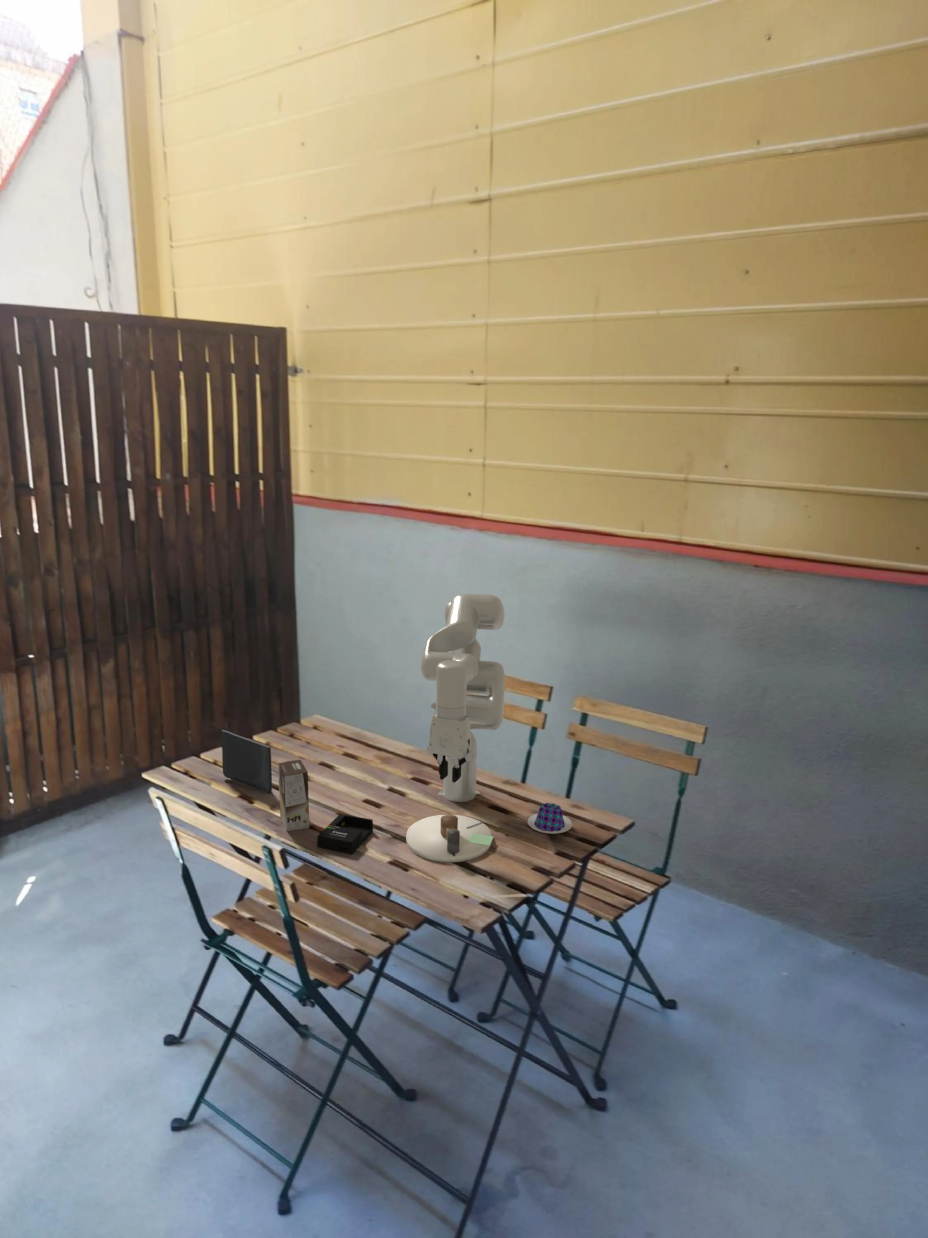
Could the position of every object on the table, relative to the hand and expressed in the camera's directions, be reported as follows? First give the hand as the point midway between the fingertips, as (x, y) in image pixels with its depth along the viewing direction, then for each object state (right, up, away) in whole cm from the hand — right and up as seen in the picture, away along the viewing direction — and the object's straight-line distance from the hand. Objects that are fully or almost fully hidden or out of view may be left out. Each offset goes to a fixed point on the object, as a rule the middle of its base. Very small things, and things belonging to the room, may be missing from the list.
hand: (449, 778), depth 210 cm
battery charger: (-27, -17, +3) cm, 32 cm away
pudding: (+27, -15, +14) cm, 34 cm away
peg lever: (0, -16, 0) cm, 16 cm away
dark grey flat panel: (-60, -9, +33) cm, 69 cm away
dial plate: (0, -17, +4) cm, 17 cm away
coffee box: (-42, -14, +11) cm, 45 cm away
